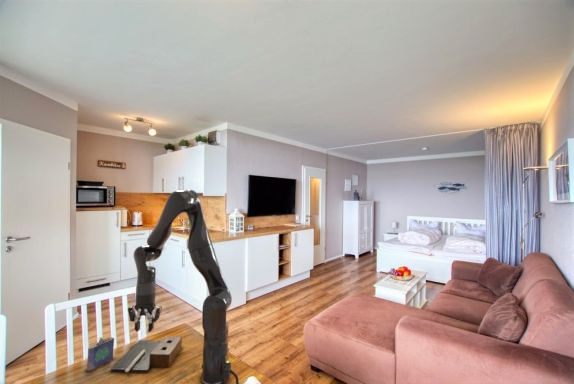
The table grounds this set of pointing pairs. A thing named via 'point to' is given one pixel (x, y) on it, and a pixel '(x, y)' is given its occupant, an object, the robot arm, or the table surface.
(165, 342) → the pen stand
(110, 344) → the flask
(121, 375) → the table surface
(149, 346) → the tablet
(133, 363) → the stylus
